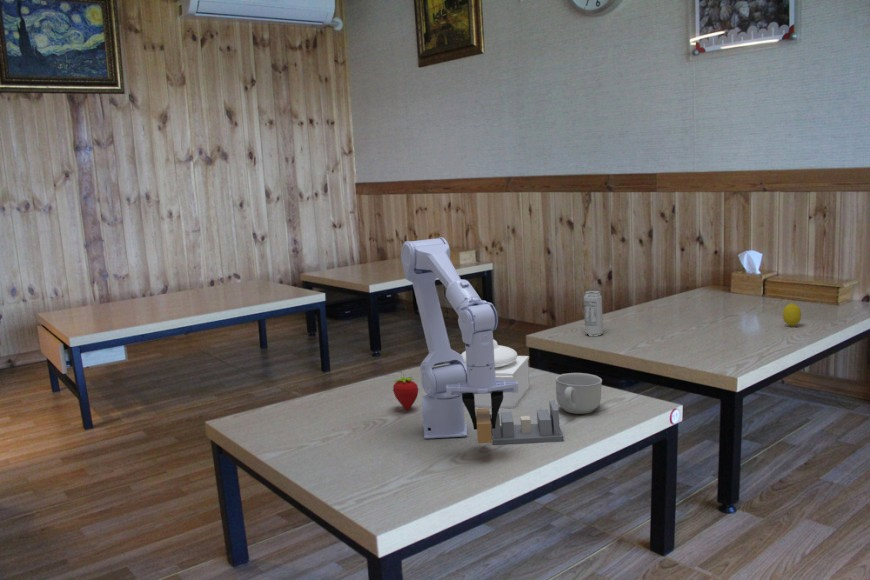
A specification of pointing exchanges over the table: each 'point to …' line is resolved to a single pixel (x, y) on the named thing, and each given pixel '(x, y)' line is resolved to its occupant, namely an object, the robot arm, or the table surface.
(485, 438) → the orange-brown rectangular block
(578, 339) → the table surface
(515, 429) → the display stand
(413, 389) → the strawberry
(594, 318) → the energy drink can
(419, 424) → the table surface
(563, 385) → the teacup
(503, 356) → the butter dish
